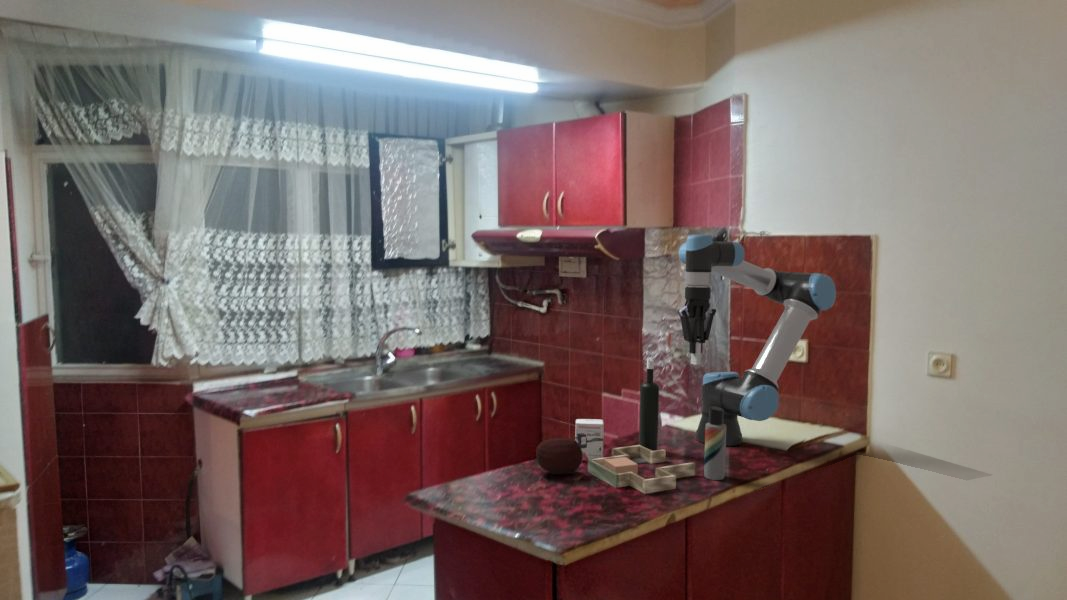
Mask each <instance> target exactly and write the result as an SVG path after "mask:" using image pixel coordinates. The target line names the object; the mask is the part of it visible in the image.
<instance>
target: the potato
mask: <svg viewBox="0 0 1067 600" xmlns="http://www.w3.org/2000/svg"><path fill="white" fill-rule="evenodd" d="M535 456H536V457H535V458H536V461H537V463H538V465H539V466H540V468H542V470H544V471H546V472H547V473H549V474H552V475H557V476H566V475H570V474H572V473H574V472H576V471H577V470H578V469H579V468H580V466H581V464H582V462H583V461H582V458H583V457H582V450H581V447H580V445H579V444H578V443H577V442H576V440H575V438H570V437H557V438H549V439H546V440H544V441H541V442H540V443H539V444H538V445H537V446H536V451H535Z"/></svg>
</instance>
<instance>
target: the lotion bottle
mask: <svg viewBox="0 0 1067 600" xmlns="http://www.w3.org/2000/svg"><path fill="white" fill-rule="evenodd" d="M726 450H727V446H726V425H725V424H723V408H720V407H715V406H712V407H711V409H710V411H709V423H706V428H705V443H704V462H703V463H704V464H703V475H704V478H706V479H708V480H713V481H720V480H724V479H725V474H726V453H727V451H726Z"/></svg>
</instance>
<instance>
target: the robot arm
mask: <svg viewBox="0 0 1067 600" xmlns="http://www.w3.org/2000/svg"><path fill="white" fill-rule="evenodd" d="M678 258H679V260H680V262H681V263H682V264H684V265H685V278H684V280H685V281H684V282H685V288H684V298H685V303H684V307H682V309H678V310H677V314H678V315H679V318H680V324H681V329H682V335H683V340H684V341H686V342H688V343H689V351H688V352H689V353H690V365H694V366H699V365H701V358H702V357H701V354H703V347H704V346H703V344H705V343H706V341H709V340H710V339H709V338H710V334H711V329H712V324H713V321H714V317H715V314H716V313H717V309H716V308H713V307H711V303H710V300H711V293H712V291H711V290H712V289H711V287H710V286H711V285H712V273H713V274H715V275H718V276H721V277H723V278H724V279H725V278H726V279H729V280H730V281H733V282H735V283H738V284H740V285H743V286H745V287H747V288H750V289H752V290H753V291H754V293H756V294H757V295H759V296H762V297H764V298H766V299H768V300H771V301H773V302H775V303H777V304H781V305H783V306H784V310H783V312H782V314H781V316H780V317H779V319H778V321H777V323H776V325H775V326H774V328H773V329H772V332H771V333H770V335H769V336H768V338H767V340H766V342H765V345H764V346H763V348H762V349H761V351H760V353H759V355H758V357H757V358H756V360H755V362H754V364H753V366H752V367H751V368H749V369H746V370H744V372H743V374H742V375H741V377H740V374H739V373H738V372H736V371H712V372H707V373H705V374H704V375H703V378H702V384H701V386H702V387H701V388H702V390H701V393H702V394H701V395H702V396H701V417H700V420H699V423H698V427H697V429H696V431H695V440H696V441H697V442H700V443H702V444H705V428H706V423H709V411H710V409H711V407H712V406H715V407H720V408H723V424H725V425H726V447H733V446H738V445H741V444H742V443H743V434H742V430H741V427H740V426H741V425H740V423H739V418H738V417H741V418H745V419H746V420H750V421H757V422H762V421H766V420H768V419H770V418H771V417H772V416H773V415H774V414H775V413H776V412H777V410H778V407H779V405H780V401H779V400H780V396H779V391H778V390H779V385H778V380H779V378H780V376H781V374H782V373H783V371H784V369H785V367H786V365H787V364H788V361H789V360H790V359H791V356H792V355H793V353H794V351H795V349H796V347H797V345H798V344H799V342H800V340H801V338H802V336H803V334H804V333H805V330H806V328H807V327H808V326H809V323H810V322H811V321H813V320H817V319H818V317H819V315H820V313H821V312H822V311H827V310H830V309H832V307H833V306H834V304H835V301H836V299H837V298H836V297H837V290H836V285H835V282H834V280H833V279H832V277H830V276H829V275H827V274H825V273H818V272H813V273H811V272H796V271H779V270H776V269H772V268H770V267H766V268H762V267H760V266H757V265H755V264H753V263H751V262H748V261H746V260H745V248H744V246H743V245H742V244H741V243H740V242H736V241H714V240H713V236H712V235H711V234H689V235H688V236H687V238H686V242H684V243H682V244H681V245H680V247H679V249H678Z"/></svg>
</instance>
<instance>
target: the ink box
mask: <svg viewBox="0 0 1067 600" xmlns="http://www.w3.org/2000/svg"><path fill="white" fill-rule="evenodd" d="M604 425H605V424H604V420H603V419H596V418H594V419H593V418H576V419H575V428H574V429H575V431H574V432H575V433H574V434H575V435H574V440H576V442H577V443H578V444H579V445H580V447H581V450H582V457H583V458H582V462H588V460H590V459H597V458H604V429H605V427H604Z"/></svg>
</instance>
